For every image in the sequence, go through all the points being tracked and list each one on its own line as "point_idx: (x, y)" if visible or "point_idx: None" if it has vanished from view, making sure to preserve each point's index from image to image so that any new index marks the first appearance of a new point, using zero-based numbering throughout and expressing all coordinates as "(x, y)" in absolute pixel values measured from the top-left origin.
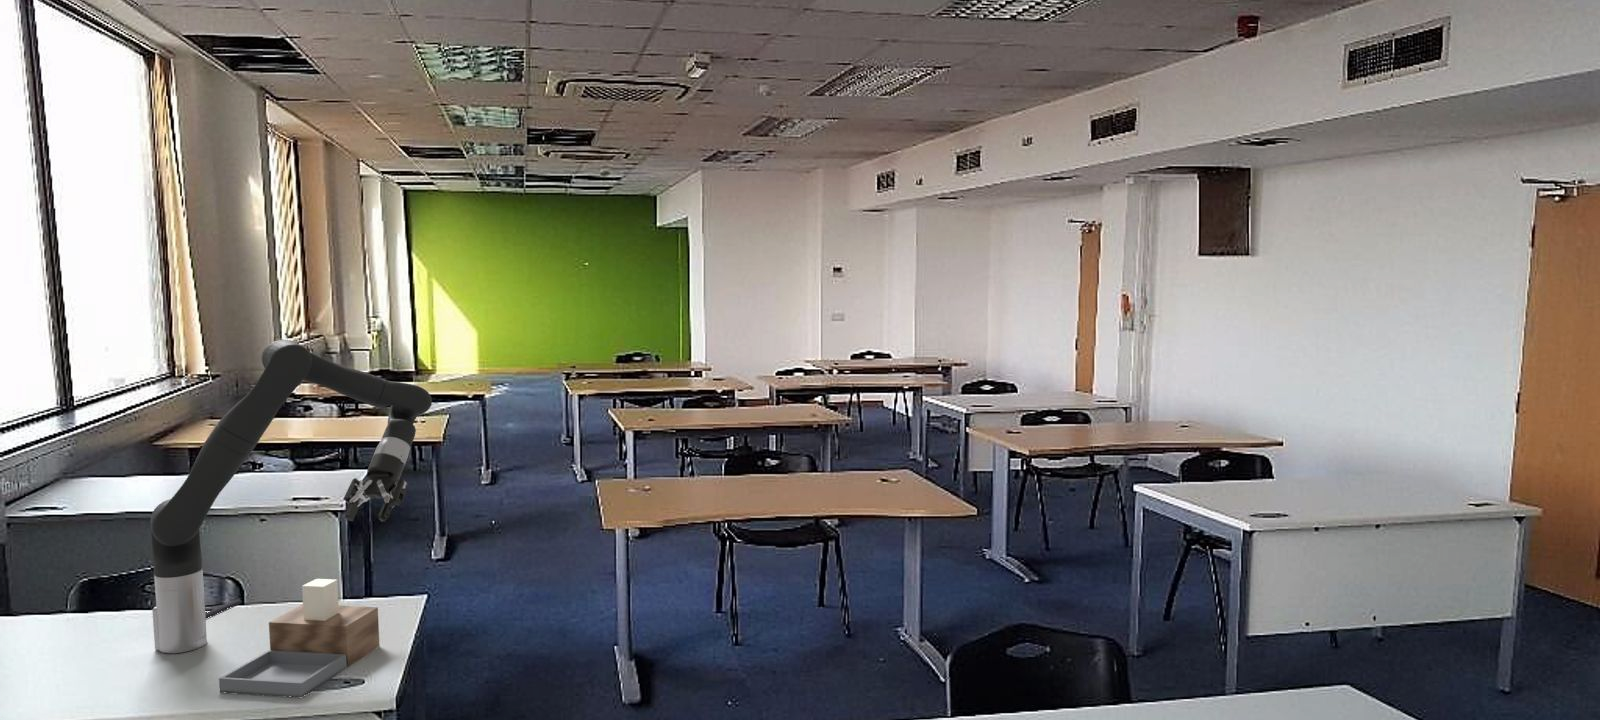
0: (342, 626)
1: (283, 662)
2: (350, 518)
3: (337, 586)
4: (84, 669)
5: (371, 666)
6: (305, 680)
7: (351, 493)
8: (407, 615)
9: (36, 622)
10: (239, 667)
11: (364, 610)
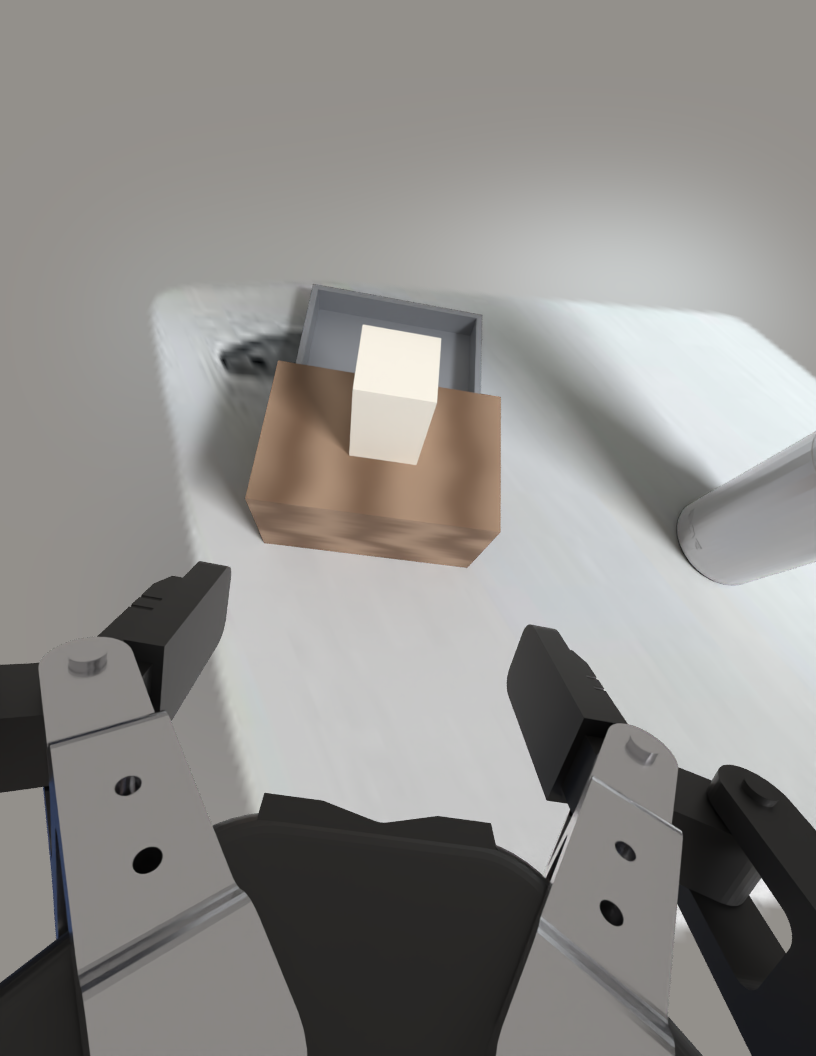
0: (289, 363)
1: None
2: (520, 654)
3: (352, 404)
4: (783, 437)
5: (236, 429)
6: (311, 293)
7: (778, 891)
8: None
9: None
10: (478, 355)
11: (277, 471)
